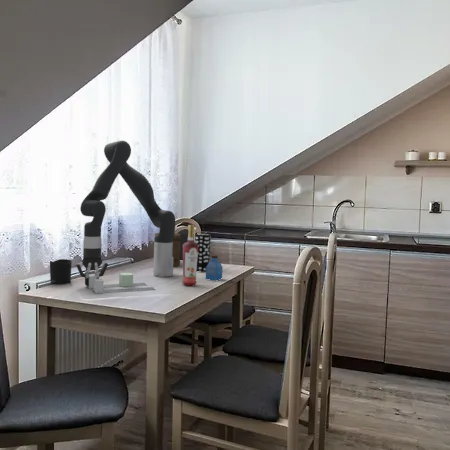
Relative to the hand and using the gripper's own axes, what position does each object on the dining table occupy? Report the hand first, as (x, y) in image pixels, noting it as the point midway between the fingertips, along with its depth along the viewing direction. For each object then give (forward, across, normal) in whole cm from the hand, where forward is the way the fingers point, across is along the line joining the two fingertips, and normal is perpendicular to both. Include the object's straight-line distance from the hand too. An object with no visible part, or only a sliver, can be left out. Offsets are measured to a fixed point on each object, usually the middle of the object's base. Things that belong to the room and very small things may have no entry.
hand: (91, 285), depth 209 cm
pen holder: (+2, +11, -17) cm, 20 cm away
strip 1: (+1, -11, 0) cm, 11 cm away
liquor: (+2, -44, +3) cm, 44 cm away
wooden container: (+2, -51, -51) cm, 72 cm away
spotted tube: (+2, -64, -30) cm, 71 cm away
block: (0, -15, 0) cm, 15 cm away
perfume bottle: (+2, -61, -7) cm, 61 cm away
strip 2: (+1, -12, +10) cm, 16 cm away
